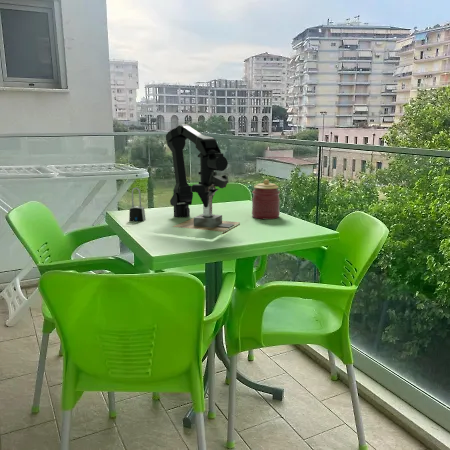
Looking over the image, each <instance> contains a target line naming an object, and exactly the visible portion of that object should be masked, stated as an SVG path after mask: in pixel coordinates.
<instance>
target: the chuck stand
mask: <svg viewBox="0 0 450 450" xmlns="http://www.w3.org/2000/svg"><path fill="white" fill-rule="evenodd" d="M238 226H241V222H240V221H228V220H223V215H222V214H214V213H212V216H210V217H205V216H203V213H201V214H199V215H196V216H194V217H193V218H190V219H187V220H185V221H182V222H180V223H178V224H175V225H173V226H172V227H174V228H181V229H193V230H202V231H211V232H212V231H214V232H222V233H221V234H222V235H224V234H226V233H228V232H229V231H232V230H233V229H235V228H237V227H238Z"/></svg>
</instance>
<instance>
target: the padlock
mask: <svg viewBox="0 0 450 450" xmlns="http://www.w3.org/2000/svg"><path fill="white" fill-rule="evenodd" d="M135 190H137V191H138V201H139V205H136V206H135V205H134V204H135V201H134V191H135ZM145 212H146V211H145V207H144V206H142V195H141V190H140V189H139V187H133V188H132V190H131V207H129V211H128V214H129V216H128V222H145V221H146V219H147V218H146V213H145Z"/></svg>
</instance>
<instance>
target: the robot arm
mask: <svg viewBox="0 0 450 450" xmlns="http://www.w3.org/2000/svg"><path fill="white" fill-rule="evenodd" d="M187 139H188V141H190V142H192V143H193V144H194V145H195V148H196V150H197V151H199V154H198V155H197V158H199V161H200V162H199V163H200V164H199V167H200V170H199V171H198V175H200V181H198V183H195V184H192V185H190V184H189V183H188V181H187V173H186V167H185V166H186V165H185V157H184V149H185V146H186V141H187ZM165 140H166V145H167V147H168V148H169V150H170V151H171V155H172V163H173V169H174V170H173V171H174V177H175V178H174V179H175V185H174V187H173V190H172V192H173V194H172V196H171V198H170V200H169V204H170V206H171V207H173V217H175V218H189V217H190V216H191V214H190V210H191V209H190V206H191V205H193V204H192V202H193V197H194V194H193V193H196V194H197V195H198V197H199V198H200V200H201V202H202V206H203V205H204V207H208V198H209V194H210V193H211V192H213V193H215V194H216V192H218V191H219V189H224V188H226V187H227V185H228V184H229V178H228V175H227V174H223V175H222V176H221V175H218V174H217V173H218V172H224V171H225V170H226V169H227V168H228V166H229V165H228V164H229V162H228V159H227V158H226V157H225V156H224V153H222V152H221V149H220V147H219V144H218V143H217V139H215V138H214V137H212V136H208V135H203V134H202V133H200V132H199V131H198V130H196V129H194V128H193V127H191V125H189V124H179V125H177V126H176V127H175V128H172V129H170V130H169V131H168V132H167V133H166V134H165ZM217 171H218V172H217ZM216 187H217V188H216ZM214 196H215V195H212V200H213V199H214Z"/></svg>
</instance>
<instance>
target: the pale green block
mask: <svg viewBox="0 0 450 450" xmlns="http://www.w3.org/2000/svg"><path fill="white" fill-rule="evenodd" d="M212 195H214V196H215V195H216V192H215V193H213V192H211V193H210V194H209V198H208V207H204V205H203V204H202V207H203V209H202V212H203V213H202V214H203V216H205V217H210V216H212V214H213V199H212Z"/></svg>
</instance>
